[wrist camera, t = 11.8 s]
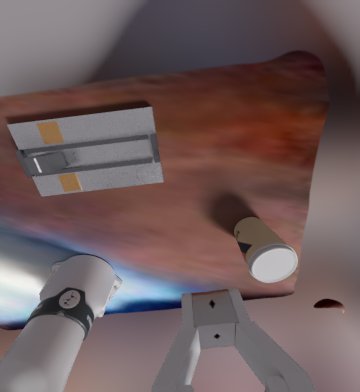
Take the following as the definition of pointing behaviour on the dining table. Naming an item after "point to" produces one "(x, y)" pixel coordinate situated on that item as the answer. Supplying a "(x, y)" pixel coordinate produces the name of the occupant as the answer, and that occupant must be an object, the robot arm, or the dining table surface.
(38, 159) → the fader knob
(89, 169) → the console
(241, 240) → the coffee cup
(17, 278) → the dining table surface
